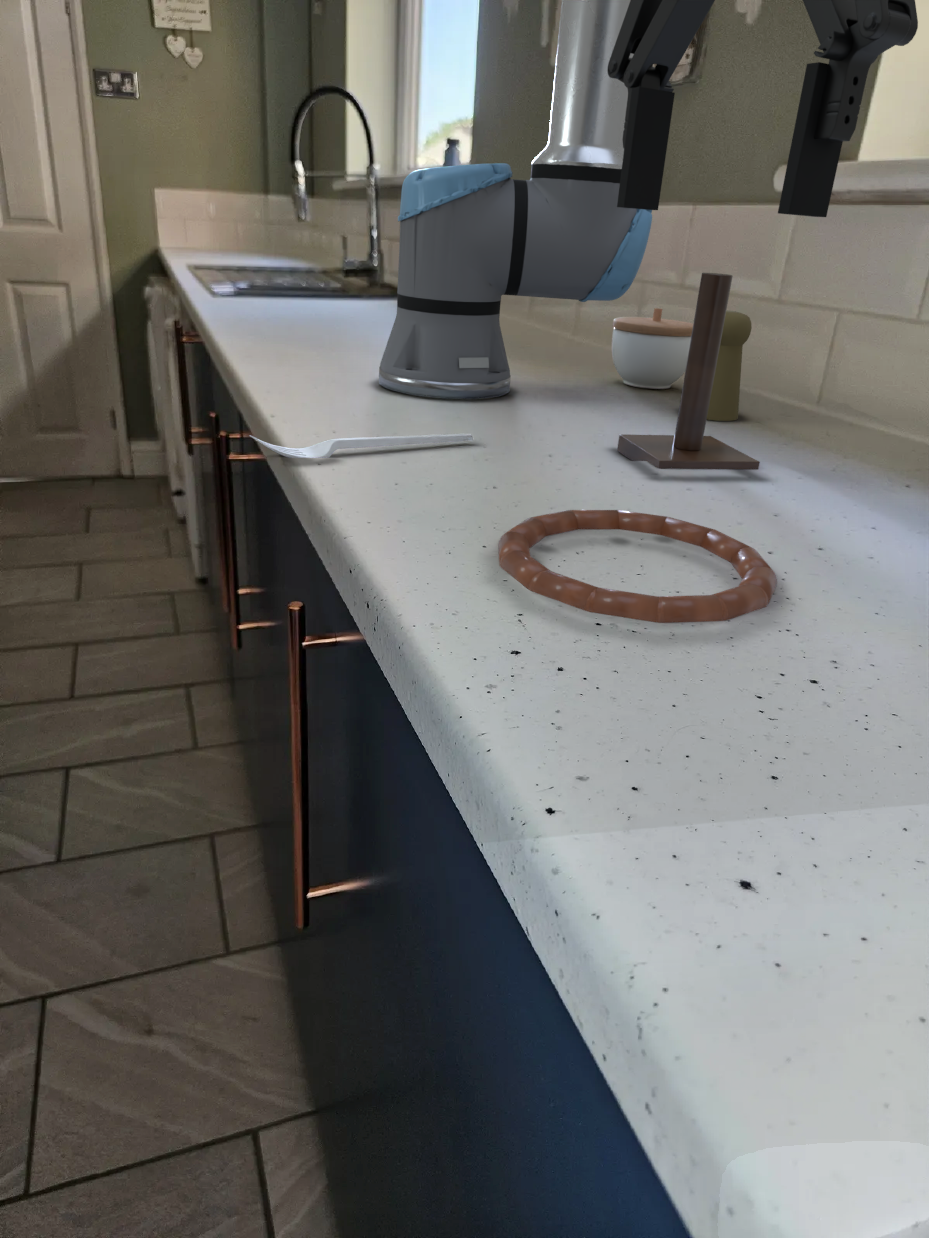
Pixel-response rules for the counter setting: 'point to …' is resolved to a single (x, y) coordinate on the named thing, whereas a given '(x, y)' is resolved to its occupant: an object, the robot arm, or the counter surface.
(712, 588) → the counter surface
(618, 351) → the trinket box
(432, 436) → the fork
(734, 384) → the olive pepper mill
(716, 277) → the rail post
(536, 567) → the ring
